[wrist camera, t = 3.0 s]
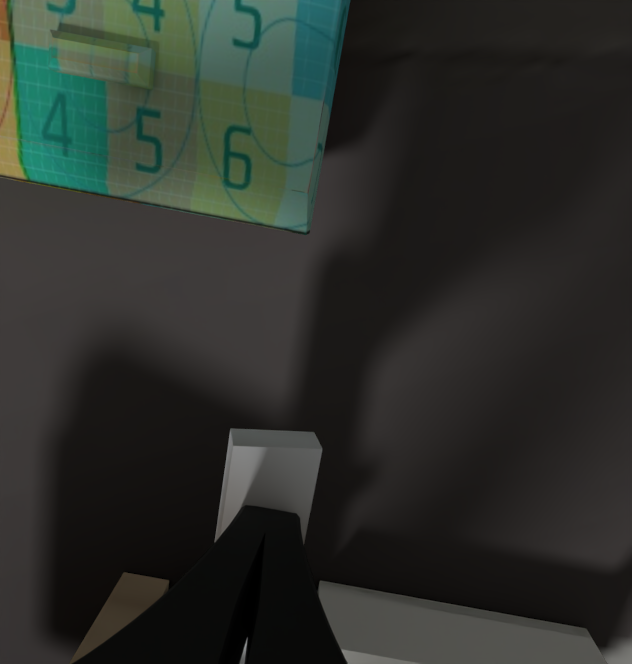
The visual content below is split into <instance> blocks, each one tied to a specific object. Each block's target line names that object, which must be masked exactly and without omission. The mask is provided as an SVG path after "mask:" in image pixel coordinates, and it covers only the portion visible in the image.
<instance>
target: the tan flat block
mask: <svg viewBox="0 0 632 664" xmlns="http://www.w3.org/2000/svg"><path fill="white" fill-rule="evenodd" d="M168 588H169V580H165V579H159V578H153V577H148V576H142V575H137V574H131V573H126V572H124V573H123V574H122V576H121V578H120V579H119V581H118V583H117V584H116V586H115V588H114V589H113V591H112V593H111V595H110V596H109V598H108V600H107V601H106V603H105V605H104V606H103V608H102V610H101V611H100V613H99V615H98V616H97V618H96V620H95V621H94V623H93V625H92V626H91V628H90V630H89V631H88V633H87V635H86V636H85V638H84V640H83V641H82V643H81V645H80V646H79V648H78V650H77V651H76V653H75V655H74V656H73V658H72V660H71V661H70V663H69V664H72V663H73V662H75V661H77V660H78V659H80V658H81V657H83V656H85V655H86V654H88V653H89V652H90V651H92V650H93V649H95V648H96V647H98V646H99V645H101V644H102V643H103V642H105V641H106V640H107V639H109V638H110V637H112V636H113V635H114V634H116V633H117V632H118V631H120V630H121V629H122V628H124V627H125V626H126V625H128V624H129V623H130V622H132V621H133V620H134V619H135V618H137V617H138V616H139V615H140V614H141V613H143V612H144V611H145V610H146V609H148V608H149V607H150V606H151V605H152V604H153V603H155V602H156V601H157V600H158V599H159V598H160V597H161V596H163V595H164V594H165V593H166V592H167V591H168Z"/></svg>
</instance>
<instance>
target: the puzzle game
mask: <svg viewBox="0 0 632 664" xmlns="http://www.w3.org/2000/svg"><path fill="white" fill-rule="evenodd" d="M349 5H350V0H0V177H1V178H6V179H11V180H17V181H22V182H27V183H33V184H38V185H43V186H49V187H54V188H59V189H64V190H70V191H75V192H80V193H86V194H91V195H96V196H102V197H107V198H112V199H118V200H123V201H128V202H133V203H139V204H144V205H149V206H155V207H160V208H165V209H171V210H176V211H181V212H187V213H192V214H197V215H202V216H208V217H213V218H218V219H224V220H229V221H234V222H240V223H245V224H250V225H256V226H261V227H266V228H271V229H277V230H282V231H287V232H293V233H298V234H303V235H307V234H309V233H310V227H311V222H312V216H313V210H314V205H315V199H316V193H317V188H318V182H319V176H320V171H321V165H322V159H323V153H324V148H325V142H326V136H327V131H328V125H329V119H330V114H331V108H332V102H333V97H334V91H335V85H336V79H337V74H338V68H339V62H340V57H341V51H342V45H343V40H344V34H345V28H346V23H347V17H348V11H349Z"/></svg>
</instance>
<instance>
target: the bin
mask: <svg viewBox="0 0 632 664" xmlns="http://www.w3.org/2000/svg"><path fill="white" fill-rule="evenodd" d="M317 593H318V596H319V599H320V601H321V604H322V607H323V609H324V612H325V614H326V617H327V619H328V622H329V624H330V627H331V629H332V631H333V634H334V636H335V638H336V640H337V642H338V644H339V647H340V649H341V651H342V653H343V655H344V657H345V659H346V661H347V663H348V664H607V662H606V661H605V659H604V657H603V656H602V654H601V652H600V651H599V649H598V647H597V646H596V644H595V642H594V641H593V639H592V637H591V636H590V634H589V632H588V631H587V629H586V628H581V627H575V626H570V625H564V624H559V623H553V622H548V621H542V620H537V619H531V618H526V617H520V616H515V615H509V614H503V613H498V612H492V611H487V610H481V609H476V608H470V607H465V606H459V605H454V604H448V603H443V602H437V601H432V600H426V599H421V598H415V597H409V596H404V595H398V594H393V593H387V592H382V591H376V590H371V589H365V588H360V587H354V586H349V585H343V584H338V583H332V582H326V581H321V580H320V582H319V587H318V591H317Z"/></svg>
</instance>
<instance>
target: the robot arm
mask: <svg viewBox="0 0 632 664" xmlns="http://www.w3.org/2000/svg"><path fill="white" fill-rule="evenodd" d="M247 637H248V638H247ZM246 640H247V646H246V655H245V663H244V664H348V663H347V661H346V659H345V657H344V655H343V653H342V651H341V649H340V647H339V644H338V642H337V640H336V638H335V636H334V634H333V631H332V629H331V627H330V624H329V622H328V619H327V617H326V614H325V612H324V609H323V607H322V604H321V601H320V599H319V596H318V593H317V590H316V587H315V584H314V581H313V577H312V574H311V571H310V568H309V564H308V561H307V557H306V553H305V548H304V544H303V539H302V533H301V524H300V517H299V516H298V515H297V513H292V512H286V511H281V510H275V509H270V508H264V507H259V506H250V505H245V506H244V507H242V508H241V509H240V510H239V512H238V513H237V515H236V516H235V518H234V519H233V520H232V522H231V523H230V524H229V526H228V527H227V528H226V530H225V531H224V532H223V533H222V535H221V536H220V537H219V538H218V539H217V541H216V542H215V543H214V544H213V545H212V546H211V547H210V548H209V550H208V551H207V552H206V553H205V554H204V555H203V556H202V557H201V559H200V560H199V561H198V562H197V563H196V564H195V565H194V566H193V567H192V568H191V569H190V570H189V571H188V572H187V573H186V574H185V575H184V576H183V577H182V578H181V579H180V580H179V581H178V582H177V583H176V584H175V585H174V586H172V587H171V588H170V589H169V590H168V591H167V592H166V593H165V594H164V595H163V596H161V597H160V598H159V599H158V600H157V601H156V602H155V603H153V604H152V605H151V606H150V607H149V608H148V609H146V610H145V611H144V612H143V613H141V614H140V615H139V616H138V617H137V618H135V619H134V620H133V621H132V622H130V623H129V624H128V625H126V626H125V627H124V628H122V629H121V630H120V631H118V632H117V633H116V634H114V635H113V636H112V637H110V638H109V639H107V640H106V641H105V642H103V643H102V644H101V645H99V646H98V647H96V648H95V649H93V650H92V651H90V652H89V653H88V654H86V655H85V656H83V657H81V658H80V659H78V660H77V661H75V662H73V663H72V664H240V660H241V657H242V654H243V650H244V647H245V644H246Z"/></svg>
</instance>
